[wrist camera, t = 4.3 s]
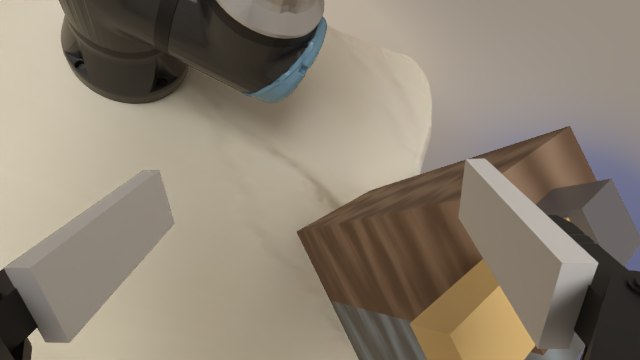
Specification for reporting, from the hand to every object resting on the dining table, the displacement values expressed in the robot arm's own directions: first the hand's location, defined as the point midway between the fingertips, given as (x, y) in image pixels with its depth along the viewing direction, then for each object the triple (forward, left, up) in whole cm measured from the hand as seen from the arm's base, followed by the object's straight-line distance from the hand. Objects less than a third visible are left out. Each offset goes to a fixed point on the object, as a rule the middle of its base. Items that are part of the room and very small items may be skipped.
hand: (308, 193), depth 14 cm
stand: (+26, -5, -36) cm, 45 cm away
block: (+17, -4, -3) cm, 17 cm away
